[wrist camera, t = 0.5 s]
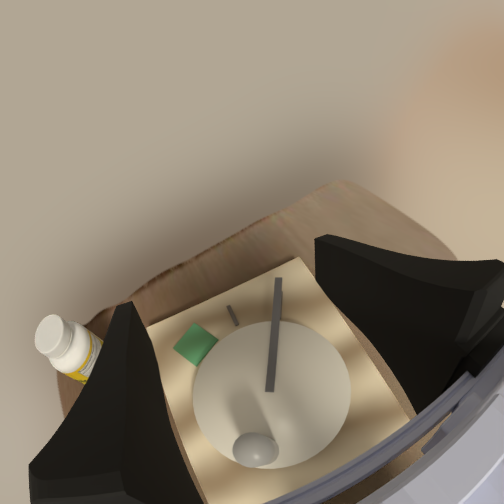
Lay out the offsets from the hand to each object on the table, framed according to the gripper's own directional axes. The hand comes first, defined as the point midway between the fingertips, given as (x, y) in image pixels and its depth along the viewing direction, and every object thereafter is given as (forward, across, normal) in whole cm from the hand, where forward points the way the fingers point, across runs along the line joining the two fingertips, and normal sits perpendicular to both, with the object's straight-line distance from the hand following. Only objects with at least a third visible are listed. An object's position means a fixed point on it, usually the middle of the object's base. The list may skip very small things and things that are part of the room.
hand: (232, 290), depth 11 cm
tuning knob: (+6, -3, +15) cm, 16 cm away
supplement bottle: (+16, +13, +17) cm, 27 cm away
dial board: (+6, -2, +17) cm, 18 cm away
